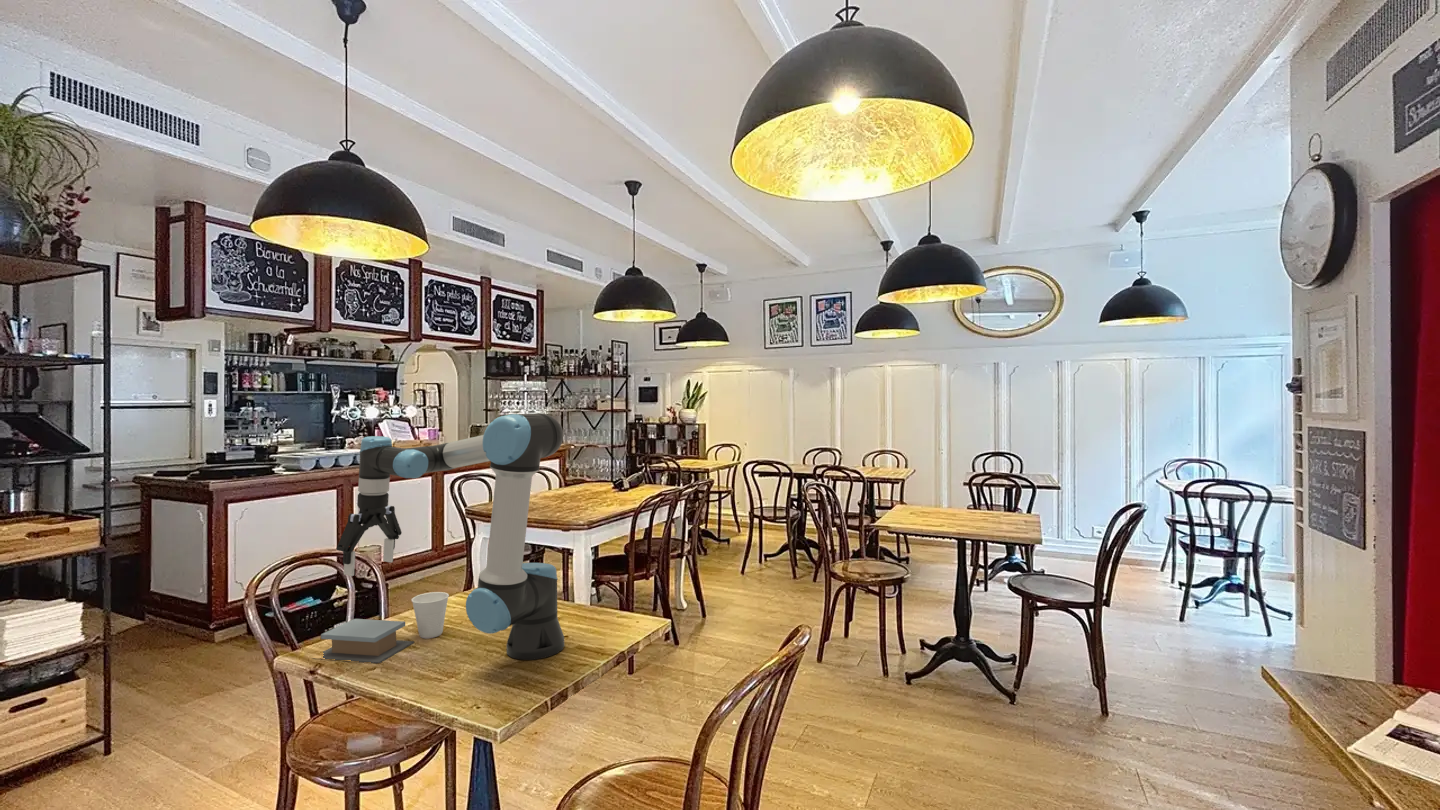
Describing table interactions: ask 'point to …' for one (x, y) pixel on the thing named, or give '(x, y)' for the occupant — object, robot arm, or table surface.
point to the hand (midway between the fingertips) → (369, 568)
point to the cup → (430, 613)
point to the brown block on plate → (366, 649)
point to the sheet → (363, 630)
